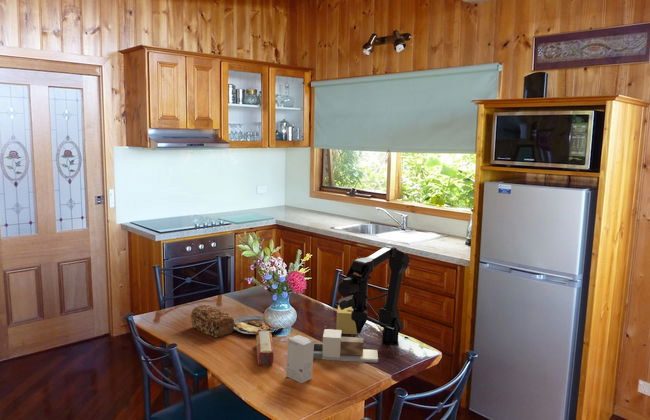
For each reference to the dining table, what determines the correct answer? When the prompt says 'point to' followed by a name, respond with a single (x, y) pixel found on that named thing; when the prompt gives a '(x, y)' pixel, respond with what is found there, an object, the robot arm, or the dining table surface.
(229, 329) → the bread
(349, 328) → the cheese
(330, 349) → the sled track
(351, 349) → the walnut block
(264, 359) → the snack package
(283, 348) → the dining table surface
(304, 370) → the skincare box
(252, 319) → the food plate
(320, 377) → the dining table surface
